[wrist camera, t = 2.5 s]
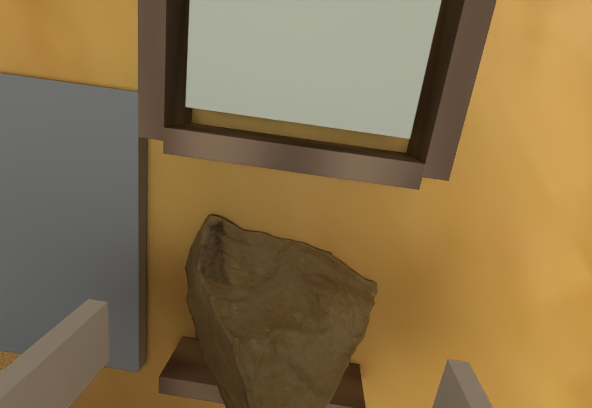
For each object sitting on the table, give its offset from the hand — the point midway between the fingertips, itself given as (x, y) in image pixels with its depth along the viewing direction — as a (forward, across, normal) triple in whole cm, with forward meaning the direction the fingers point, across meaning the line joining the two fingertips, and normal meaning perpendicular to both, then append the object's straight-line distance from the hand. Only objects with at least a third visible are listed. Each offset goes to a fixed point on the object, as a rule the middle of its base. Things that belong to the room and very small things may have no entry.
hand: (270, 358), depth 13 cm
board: (+8, -15, 0) cm, 17 cm away
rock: (+8, -1, 0) cm, 9 cm away
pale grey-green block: (+9, -1, +12) cm, 14 cm away
